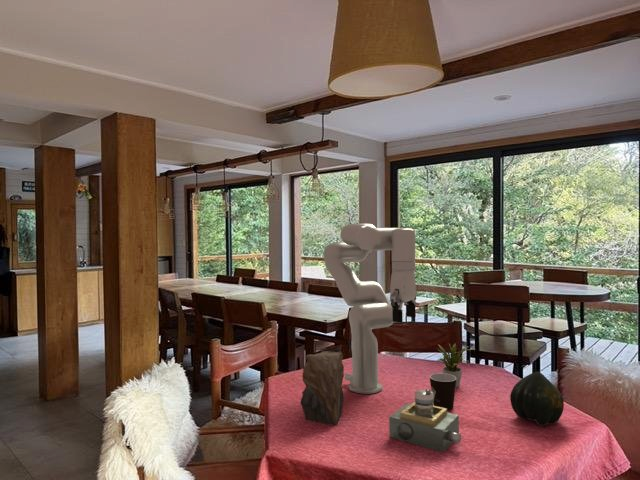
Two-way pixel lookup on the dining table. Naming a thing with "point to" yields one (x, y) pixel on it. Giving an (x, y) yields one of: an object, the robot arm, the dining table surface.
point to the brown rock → (323, 387)
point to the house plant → (453, 362)
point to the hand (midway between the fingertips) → (404, 319)
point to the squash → (537, 399)
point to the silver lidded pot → (424, 403)
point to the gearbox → (425, 428)
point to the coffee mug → (443, 390)
